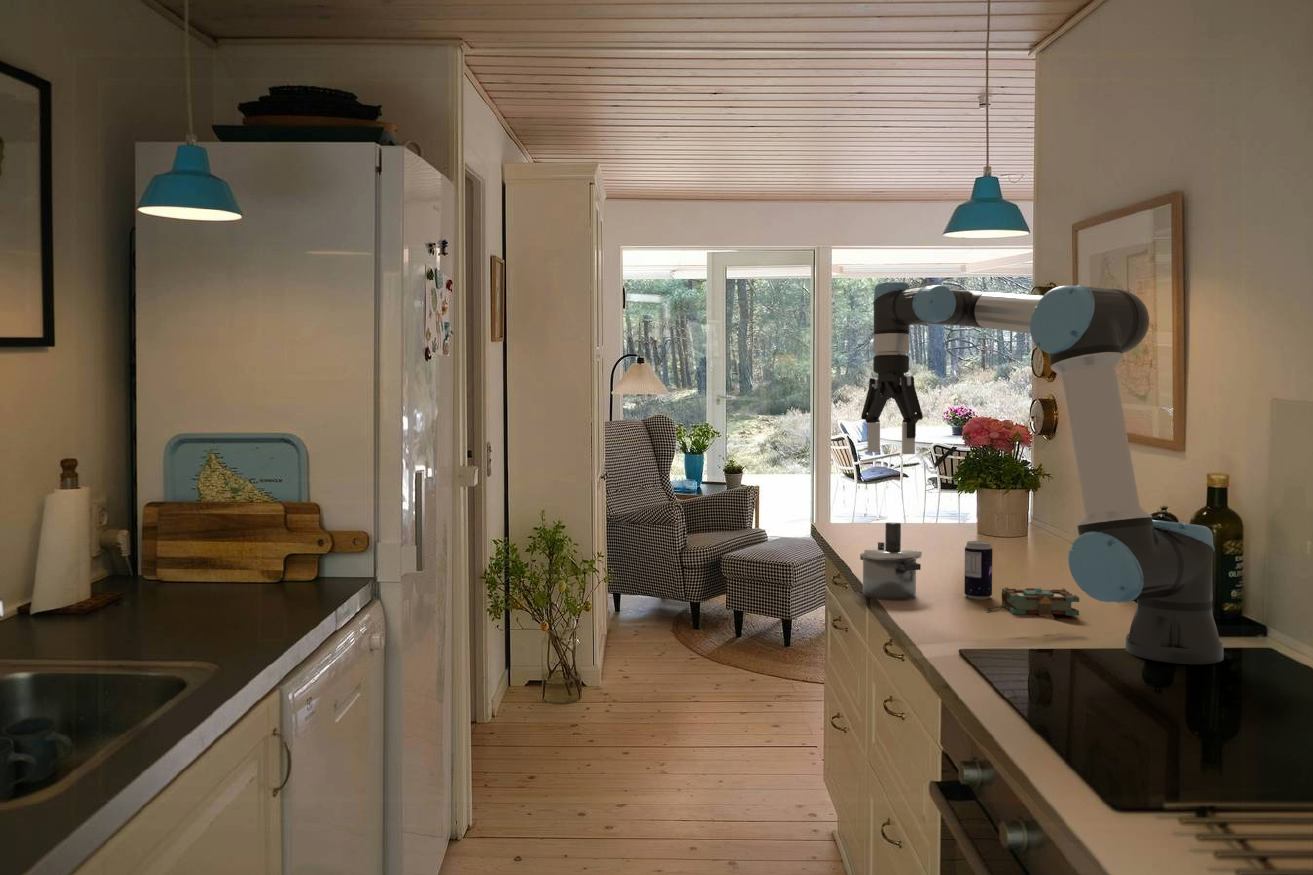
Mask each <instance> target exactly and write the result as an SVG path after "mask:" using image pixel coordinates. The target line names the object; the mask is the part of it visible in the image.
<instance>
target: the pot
mask: <svg viewBox="0 0 1313 875" xmlns="http://www.w3.org/2000/svg"><path fill="white" fill-rule="evenodd" d="M859 556H860V557H859V558H860V561H861V560H862V595H863V596H865V597H867V598H870V599H875V600H880V601H889V602H890V601H891V602H892V601H893V602H895V601H896V602H899V601H910V600H913V599H916V597H917V571H921V570H922V569H921V566H922V565H921V563H918V562H917V559H910V560H890V559H877V558H871V557H867V556H865V555H864V552H861V553H860V555H859Z"/></svg>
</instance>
